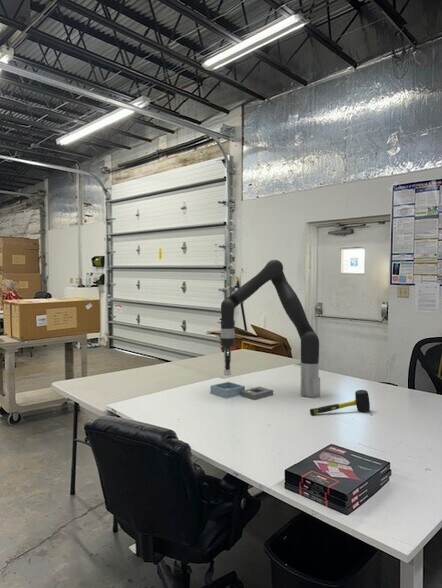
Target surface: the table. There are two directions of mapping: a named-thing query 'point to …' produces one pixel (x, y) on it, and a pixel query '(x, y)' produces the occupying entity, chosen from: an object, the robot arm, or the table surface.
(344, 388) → the table surface
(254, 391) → the fuse block
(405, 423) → the table surface
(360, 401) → the mallet
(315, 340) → the robot arm
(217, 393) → the parts tray
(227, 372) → the cylinder
